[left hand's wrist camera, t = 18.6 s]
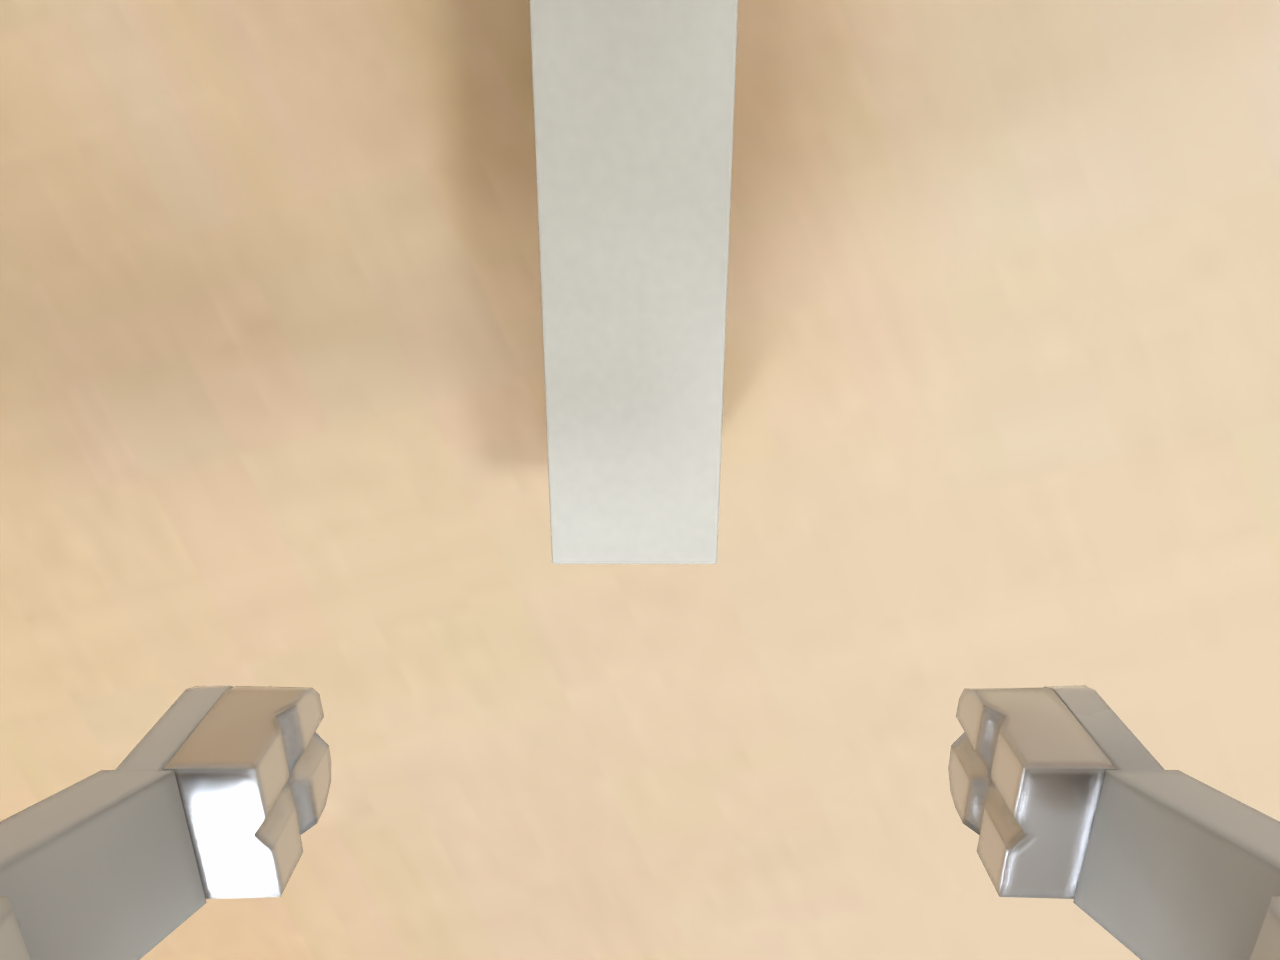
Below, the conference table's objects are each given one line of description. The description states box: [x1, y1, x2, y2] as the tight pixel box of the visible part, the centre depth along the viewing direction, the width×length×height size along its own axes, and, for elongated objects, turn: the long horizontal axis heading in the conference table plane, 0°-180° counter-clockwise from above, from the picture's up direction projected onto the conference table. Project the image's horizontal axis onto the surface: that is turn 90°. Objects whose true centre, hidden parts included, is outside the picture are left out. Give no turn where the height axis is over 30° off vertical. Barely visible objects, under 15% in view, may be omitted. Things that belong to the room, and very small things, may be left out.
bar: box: [529, 0, 738, 564], centre depth 25 cm, size 23×5×9 cm, turn 0°
